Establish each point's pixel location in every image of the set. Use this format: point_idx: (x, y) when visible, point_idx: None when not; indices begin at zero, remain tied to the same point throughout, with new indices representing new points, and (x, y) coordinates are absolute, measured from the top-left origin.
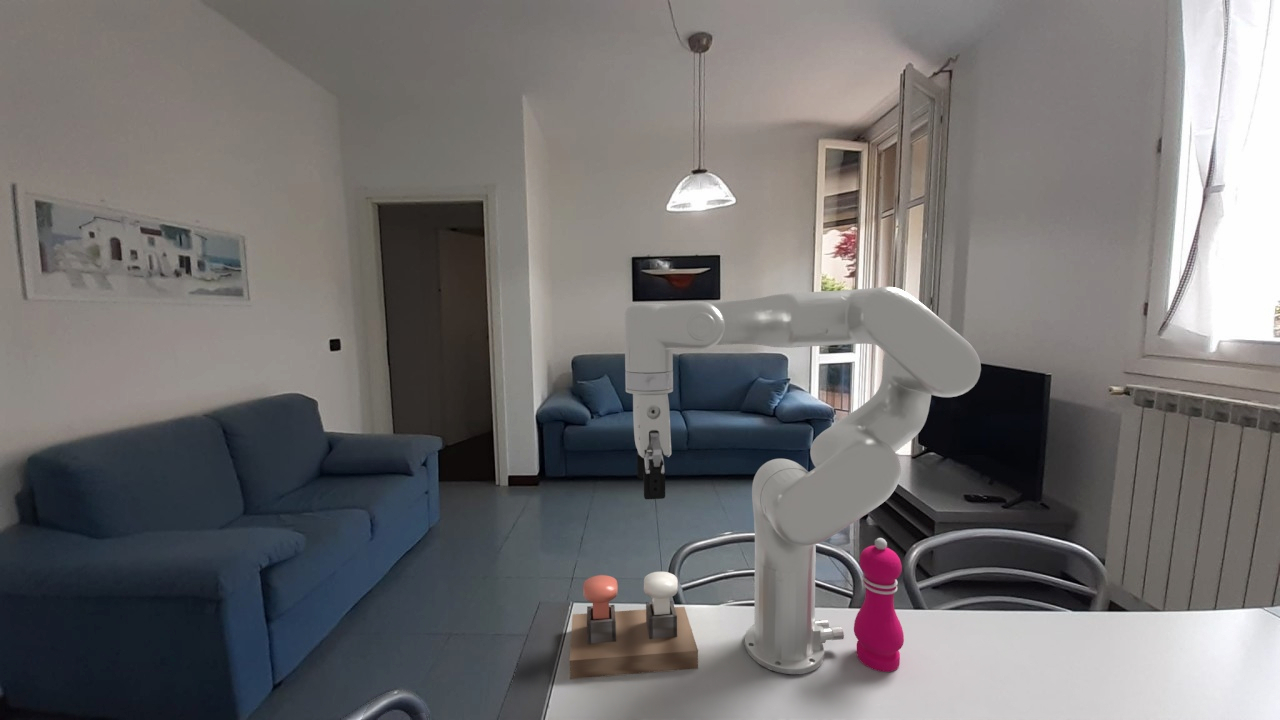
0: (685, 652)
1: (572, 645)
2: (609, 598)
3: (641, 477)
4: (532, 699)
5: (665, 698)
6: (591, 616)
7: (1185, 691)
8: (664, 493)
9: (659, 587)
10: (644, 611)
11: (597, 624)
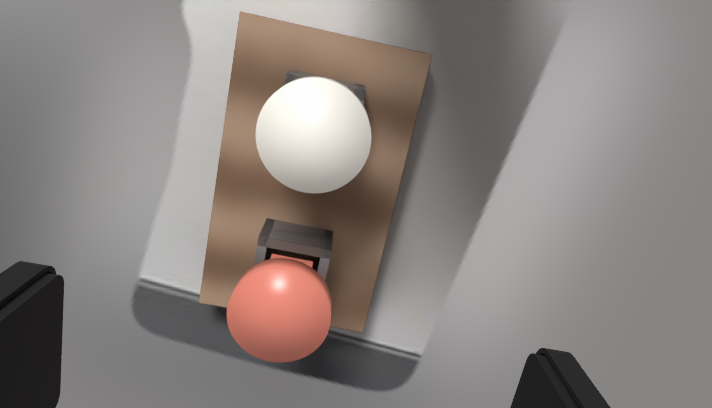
0: (423, 86)
1: None
2: (329, 293)
3: (57, 385)
4: (389, 374)
5: (477, 154)
6: None
7: None
8: (581, 373)
9: (357, 157)
10: (232, 131)
11: None
